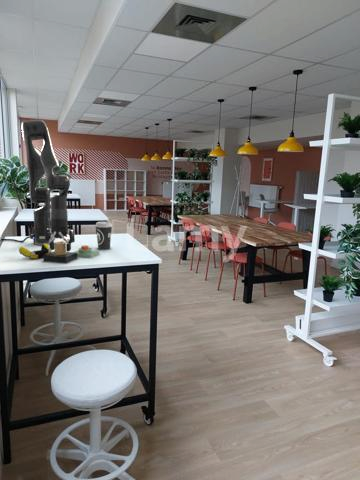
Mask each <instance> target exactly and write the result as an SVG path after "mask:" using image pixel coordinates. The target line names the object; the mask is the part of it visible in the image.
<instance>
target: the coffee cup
mask: <svg viewBox="0 0 360 480" xmlns="http://www.w3.org/2000/svg"><path fill="white" fill-rule="evenodd" d="M94 227H95V231H96V240H97V249H98V250H101V251H106V250H110V249H111V240H112V238H111V237H112V228H113V224H112V222H111V221H98V222H96V223H95V225H94Z"/></svg>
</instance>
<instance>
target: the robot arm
mask: <svg viewBox="0 0 360 480" xmlns="http://www.w3.org/2000/svg"><path fill="white" fill-rule="evenodd" d="M21 130H22V131H21V132H22V137H23V142H24V147H25V156H26V157H25V158H26V168H27V175H28V183H29V199H30V202H31V203H33V204H43V206H40V207H39V208H36V209H34V210H33V227H32V234H29V235H28V236H26V237H25V238H24V239H23V240H18V239H15V238H14V239H13V238H0V239H1V240H0V241H10V242H13V241H14V242H17V243H24V242H26V241H27V239H30V240H32V241H33V244H34V245H36V246H42V244H44V243H45V244H47V245H48V246H49V248H50V249H51V251H55V246H54V243H55V240H56V239H60V240H62V241H63V242H66V252H71V250H72V243H75V230H74V229H71V230H70V229H68V227H69V221H68V219H69V218H68V215H69V214H68V206H67V204H68V203H67V202H68V201H67V200H68V194H69V190H70V187H71V180H70V178H69V177H68V176H67V174H58V173H59V172H60V171H61V167H60V164H59V162H58V159H57V157H56V154H55V152H54V147H53V144H52V139H51V137H50V133H49V129H48V127H47V124H46V122H45V121H44V120H42V119H33V120H32V119H31V120H24V121H22V122H21ZM39 140H43V146H42V149H41V152H40V151H39V150H38V149H37V148H36V146H35V145H34V144H33V141H39ZM43 177H45V185H46V186H37V185H38V184H39V182H40V181H41V180H42V179H43ZM51 191H58V193H57V194H53V195H51Z"/></svg>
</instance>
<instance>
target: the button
mask: <svg viewBox="0 0 360 480" xmlns="http://www.w3.org/2000/svg"><path fill="white" fill-rule="evenodd" d="M80 248H81V249H83V250H86V249H89V248H90V247H89V245H86V244H85V245H81V247H80Z"/></svg>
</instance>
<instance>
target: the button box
mask: <svg viewBox="0 0 360 480" xmlns="http://www.w3.org/2000/svg"><path fill="white" fill-rule="evenodd" d="M72 252H73V253H77V258H86V259H87V258H88V259H92V258H94V257H96V256H98V255H99V254H100V251H99V250H93V249H92V247H89V249H86V250H83V249H81V247H79V248H78V250H75V251H72Z"/></svg>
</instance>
